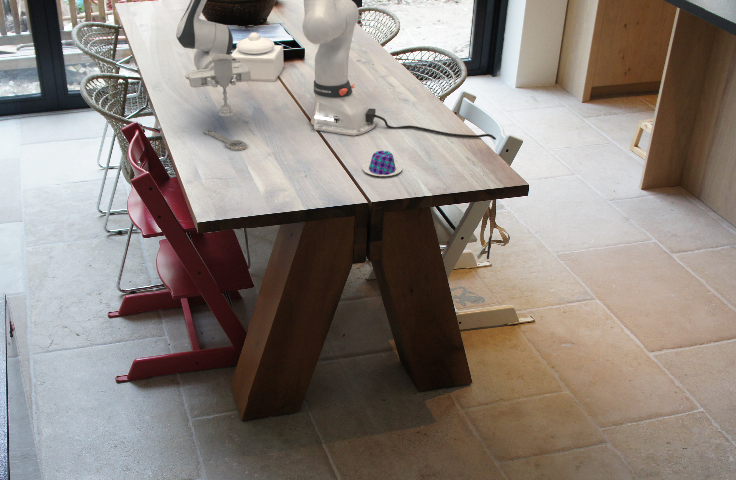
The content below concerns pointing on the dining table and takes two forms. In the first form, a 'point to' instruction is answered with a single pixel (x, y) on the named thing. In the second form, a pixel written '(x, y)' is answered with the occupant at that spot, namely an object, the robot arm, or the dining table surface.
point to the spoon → (228, 141)
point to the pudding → (382, 164)
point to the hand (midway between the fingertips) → (224, 83)
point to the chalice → (223, 78)
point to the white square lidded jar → (260, 57)
